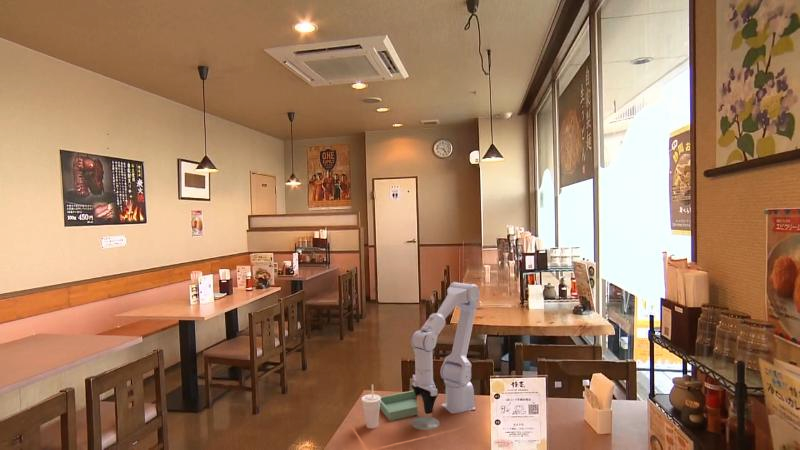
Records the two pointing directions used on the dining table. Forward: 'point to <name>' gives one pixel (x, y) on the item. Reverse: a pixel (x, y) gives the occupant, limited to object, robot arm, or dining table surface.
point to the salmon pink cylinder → (421, 408)
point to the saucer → (425, 423)
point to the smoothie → (371, 409)
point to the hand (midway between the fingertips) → (425, 409)
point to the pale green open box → (399, 405)
